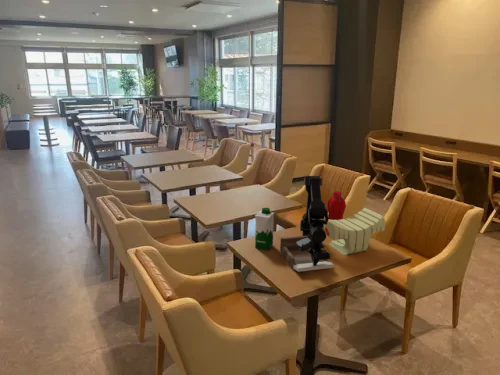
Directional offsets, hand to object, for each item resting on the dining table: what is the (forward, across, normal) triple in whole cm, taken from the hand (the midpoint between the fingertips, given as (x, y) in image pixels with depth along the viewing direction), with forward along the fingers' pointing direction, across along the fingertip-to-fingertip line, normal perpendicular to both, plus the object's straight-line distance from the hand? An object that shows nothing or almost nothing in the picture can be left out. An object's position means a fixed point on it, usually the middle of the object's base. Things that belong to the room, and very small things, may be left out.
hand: (314, 265), depth 170 cm
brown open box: (+3, -13, 0) cm, 14 cm away
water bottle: (+3, -37, +28) cm, 47 cm away
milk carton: (+3, -31, -15) cm, 35 cm away
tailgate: (+1, -5, 0) cm, 5 cm away
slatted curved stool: (+3, -19, +27) cm, 33 cm away
